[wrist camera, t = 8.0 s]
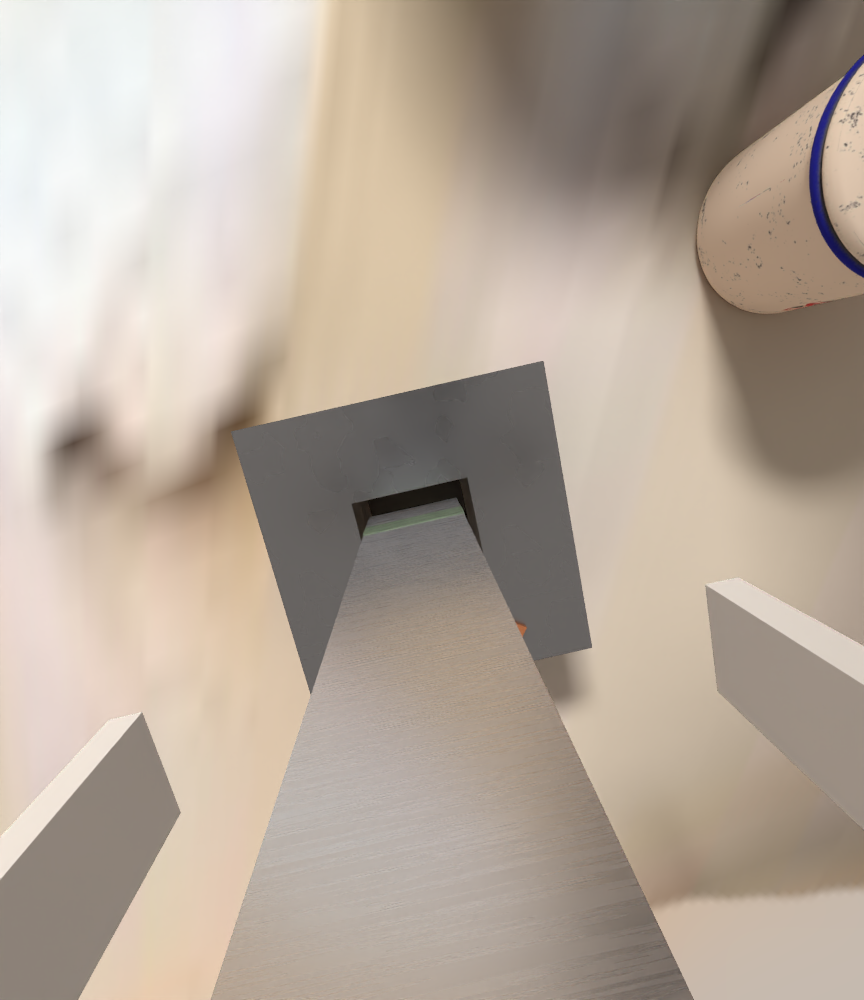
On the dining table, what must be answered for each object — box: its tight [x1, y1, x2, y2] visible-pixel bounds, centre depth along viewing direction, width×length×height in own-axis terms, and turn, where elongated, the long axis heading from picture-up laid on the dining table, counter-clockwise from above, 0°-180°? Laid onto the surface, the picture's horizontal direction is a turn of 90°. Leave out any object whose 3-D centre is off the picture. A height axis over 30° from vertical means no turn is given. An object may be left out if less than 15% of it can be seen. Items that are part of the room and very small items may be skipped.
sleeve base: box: [231, 361, 592, 694], centre depth 26 cm, size 14×14×8 cm
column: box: [211, 498, 694, 1000], centre depth 13 cm, size 5×4×20 cm
